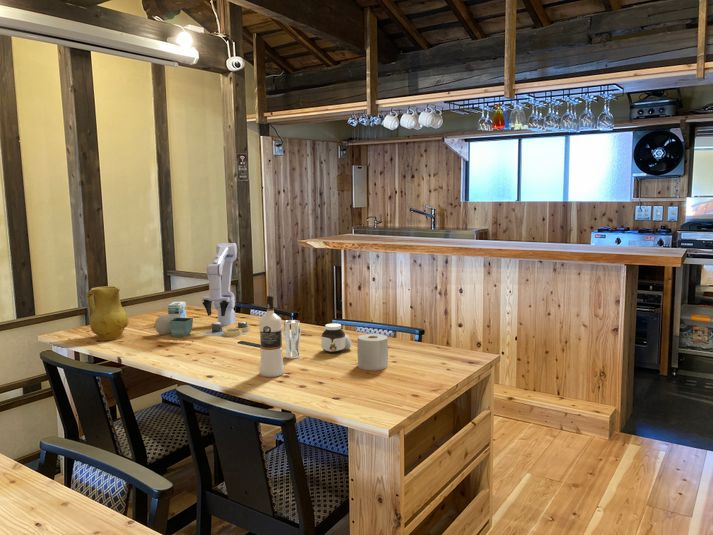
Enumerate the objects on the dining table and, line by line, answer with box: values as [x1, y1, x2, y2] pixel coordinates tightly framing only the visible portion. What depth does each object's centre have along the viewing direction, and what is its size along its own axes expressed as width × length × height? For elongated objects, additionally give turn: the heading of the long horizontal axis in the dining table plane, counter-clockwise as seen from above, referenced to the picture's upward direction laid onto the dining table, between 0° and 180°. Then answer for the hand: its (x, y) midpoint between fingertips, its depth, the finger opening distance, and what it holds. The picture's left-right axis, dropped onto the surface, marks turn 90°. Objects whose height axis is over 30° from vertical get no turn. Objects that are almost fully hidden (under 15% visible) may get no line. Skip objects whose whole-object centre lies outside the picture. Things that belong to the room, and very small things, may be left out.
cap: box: [211, 321, 223, 332], centre depth 283 cm, size 5×5×4 cm
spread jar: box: [320, 323, 353, 355], centre depth 249 cm, size 12×11×12 cm
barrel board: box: [200, 321, 251, 338], centre depth 281 cm, size 16×20×5 cm
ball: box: [154, 314, 174, 336], centre depth 281 cm, size 10×10×10 cm
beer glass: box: [283, 319, 301, 360], centre depth 240 cm, size 7×7×15 cm
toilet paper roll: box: [357, 333, 389, 371], centre depth 226 cm, size 12×12×12 cm
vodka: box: [258, 295, 285, 378], centre depth 215 cm, size 9×9×30 cm
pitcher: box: [86, 285, 130, 342], centre depth 277 cm, size 17×19×25 cm
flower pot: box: [169, 317, 194, 338], centre depth 275 cm, size 9×9×9 cm
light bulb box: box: [167, 301, 188, 318], centre depth 309 cm, size 11×7×11 cm, turn 179°
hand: (216, 315), depth 283 cm, fingers open, 7 cm apart
